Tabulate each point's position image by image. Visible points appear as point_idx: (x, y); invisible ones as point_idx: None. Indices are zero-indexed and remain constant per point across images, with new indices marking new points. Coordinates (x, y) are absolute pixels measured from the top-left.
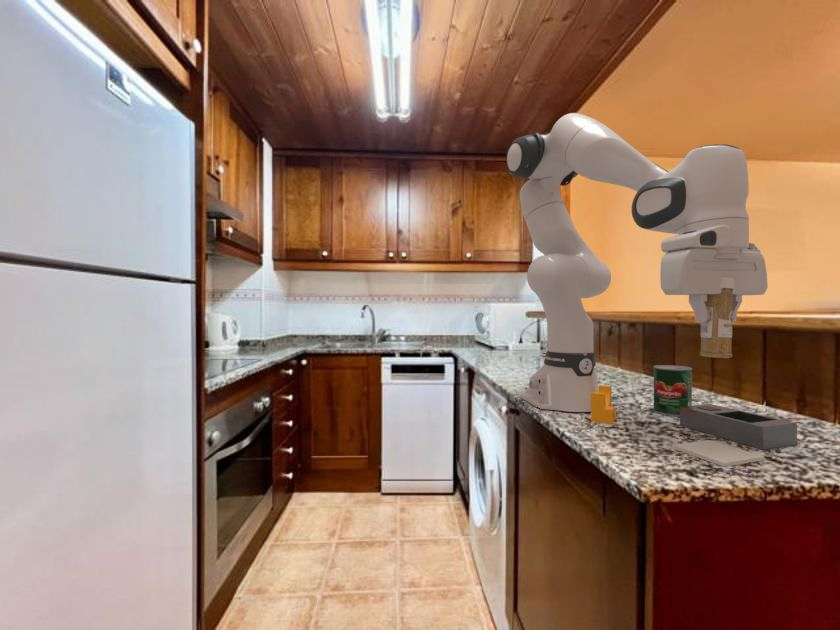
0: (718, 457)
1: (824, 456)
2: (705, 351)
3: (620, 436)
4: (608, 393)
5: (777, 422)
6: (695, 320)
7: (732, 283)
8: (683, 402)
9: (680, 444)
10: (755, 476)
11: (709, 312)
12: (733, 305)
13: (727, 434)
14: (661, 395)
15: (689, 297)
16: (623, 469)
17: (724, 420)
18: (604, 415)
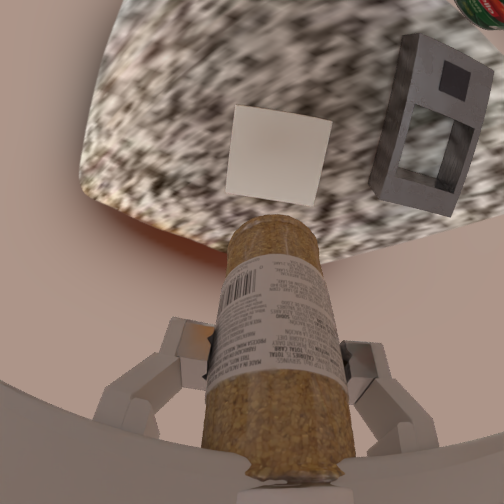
0: (242, 176)
1: (402, 236)
2: (228, 254)
3: (210, 17)
4: None
5: (432, 200)
6: (171, 320)
7: None
8: (486, 19)
9: (251, 110)
10: (229, 225)
11: (193, 386)
12: (376, 424)
13: (386, 129)
14: None
15: (96, 412)
16: (90, 143)
17: (396, 130)
18: None
